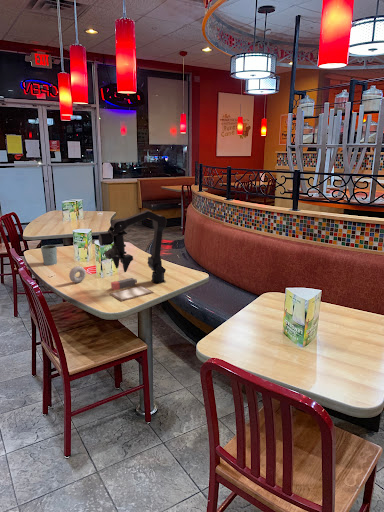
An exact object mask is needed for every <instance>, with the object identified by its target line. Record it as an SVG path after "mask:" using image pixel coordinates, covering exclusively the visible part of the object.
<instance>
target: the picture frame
mask: <svg viewBox="0 0 384 512" xmlns="http://www.w3.org/2000/svg"><path fill="white" fill-rule="evenodd" d="M154 293H155V292H154V291H152V290H150V289H148V288H147V287H145V286H143V285H138V286H135V287H134V286H133V287H130V288H127V289H126V288H125V289H122V290H119V291H118V290H117V291H114V292H110V293H109V295H110V296H112V297H114V298H115V299H116V300H117V301H119V302H124V301H129V300H132V299H135V298H139V297H144V296H146V295H151V294H154Z"/></svg>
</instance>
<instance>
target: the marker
mask: <svg viewBox="0 0 384 512" xmlns="http://www.w3.org/2000/svg"><path fill="white" fill-rule="evenodd" d="M137 283H138V280H137V279H136V278H133V277H129V278H125V279H122V280H117V281H116V280H115V281H111V282H110V284H111V285H110V286H111V287H110V288H111V289H112V290H113V291H118V290H119V291H120V290H121V289H122V290H123V289H126V288H129V287H130V288H131V287H134V286H136V284H137Z"/></svg>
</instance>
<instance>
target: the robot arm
mask: <svg viewBox="0 0 384 512" xmlns="http://www.w3.org/2000/svg"><path fill="white" fill-rule="evenodd" d="M146 219H148V220H151V221H152V227H153V231H154V234H153V242H152V250H151V251H152V252H151V255H150V256H148V257H147V266H148V267H149V268H150V269H151V271H152V272H151V273H152V274H151V280H150V281H151V282H152V283H154V284H156V285H158V284H163V283H165V282H167V281H166V280H165V273H166V268H165V267H163V266H162V263H163V262H162V258H161V252H162V251H161V250H162V243H163V242H162V240H163V232H164V230H165V229H166V226H167V222H168V221H167V220H168V219H167V218H166V217H165V216H163V215H161V214H156V213H154V212H152V211H151V210H148V209H146V210H143V211H141V212H138V213H136V214H132V215H130V216H128V217H125V218H123V217H122V218H117V219H114V220H112V221H111V223H110V226H109V228H108V229H107V231H106V232H100V233H98V234H99V236H98V244H99V246H100V247H103V246H109V245H110V246H111V248H109V249H108V250H106V251H104V253H103V254H104V257H105V258H106V259H108V260H111V259H112V261H113V262H112V263H113V264H114V266H115V269H119V267H120V266H119V265H120V263H121V264H122V268H123V272H124V273H126V272H127V270H128V269H129V266H130V264H131V262H133V260H134V256H133V255H131V254H129V253H127V251H126V249H125V247H126V248H127V245H126V244H125V239H124V237H125V235H128V233H127V232H126V231H125V230H126V229H128V227H129V226H132V225H134V224H136V223H139V222H142V221H144V220H146Z"/></svg>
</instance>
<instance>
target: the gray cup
mask: <svg viewBox="0 0 384 512" xmlns="http://www.w3.org/2000/svg"><path fill="white" fill-rule="evenodd" d="M57 248H58V247H57V245H55V244H46V245H41V247H40V250H41V255H42V261H43V265H44V266H54V264H55V265H57V264H58V254H57V253H58V252H57V251H58V250H57Z"/></svg>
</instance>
